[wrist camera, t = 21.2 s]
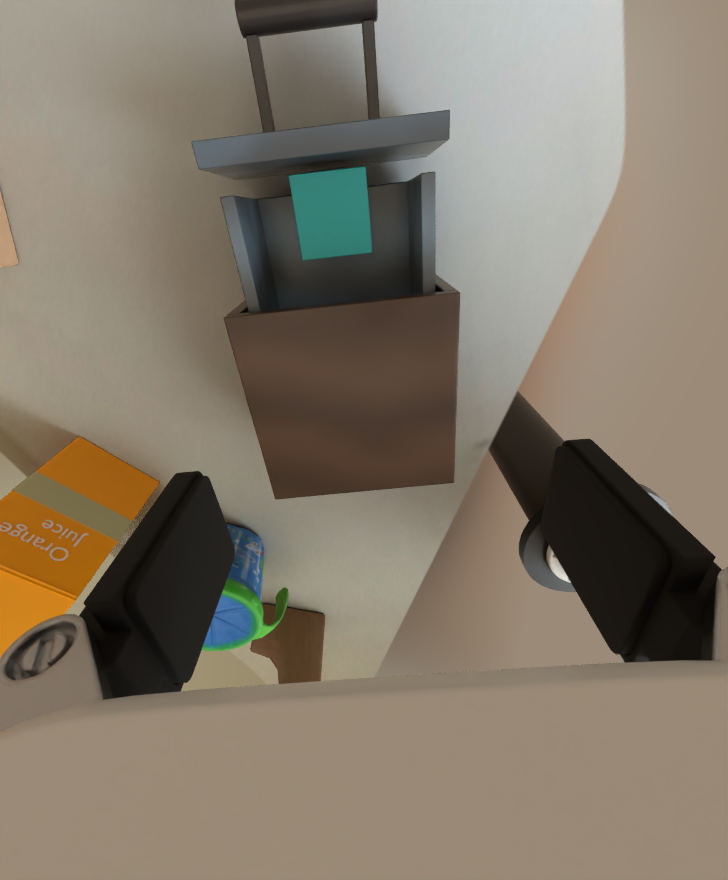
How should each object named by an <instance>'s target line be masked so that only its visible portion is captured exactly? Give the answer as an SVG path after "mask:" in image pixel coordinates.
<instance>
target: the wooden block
mask: <svg viewBox="0 0 728 880" xmlns="http://www.w3.org/2000/svg"><path fill="white" fill-rule="evenodd" d="M262 606H263V622H264V623H265V624H266V625H270V624H271V623H272V622H273V621H274V620H275V614H276V605H270V604H263V605H262ZM324 626H325V615H324V614H320V613H314V612H309V611H303V610H298V609H292V608H287V607H286V610H285V613H284V615H283V617H282V619H281V620H280V622H279V623H278V625H277V626H276V627H275V628H274V629H273V630H272V631H270V632H269V633H268V634H266V635H265V636H263V637H262V638H258V639H254V640H252V644H251V648H250V649H251V651H252V652H254V653H257V654H259V655H262V656H265V657H268V658H270V659H271V661H272V662H273V664H274V665H275V667H276V668H277V669H278V680H279V684H287V683H301V682H315V681H321V670H322V655H323V640H324Z"/></svg>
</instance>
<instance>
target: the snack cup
mask: <svg viewBox="0 0 728 880" xmlns="http://www.w3.org/2000/svg"><path fill="white" fill-rule="evenodd" d="M227 528H228V530H229V533H230V536H231V538H232V541H233V544H234V547H235V558H234V561H233V564H232V567H231V569H230V572H229V575H228V578H227V581H226V583H225V586H224V589H223V592H222V594H221V597H220V600H219V603H218V605H217V608H216V611H215V614H214V617H213V619H212V622H211V625H210V628H209V630H208V633H207V636H206V639H205V641H204V644H203V647H202V650H206V651H223V650H230V649H234V648H238V647H241V646H243V645H245V644H247V643H249V642H250V641H252V640H254V639H258V638H262V637H263V636H265V635H266V634H268V633H269V632H270V631H272V630H273V629H274V628H275V627H276V626H277V625H278V623H279V622H280V620H281V619H282V617H283V615H284V613H285V610H286V607H287V602H288V589H287V588H285V587H284V588H283V589H281V590H280V591H279V593H278V594H277V596H276V614H275V620H274V621H273V622H272V623H271V624H270V625H266V624H265V623H264V622H263V606H262V602H261V596H262V588H263V570H264V548H263V545H262V543H261V539H260V538H259V536H258V535H255V534H254V533H252V532H251V531H249V530H246V529H244V528H240V527H236V526H234V525H230V524H228V525H227Z"/></svg>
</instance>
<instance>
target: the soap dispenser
mask: <svg viewBox="0 0 728 880" xmlns="http://www.w3.org/2000/svg"><path fill="white" fill-rule="evenodd" d="M17 264H19V262H18V258H17V254H16V250H15V246H14V242H13V238H12V235H11V231H10V227H9V223H8V219H7V215H6V211H5V207H4V203H3V199H2V195H1V191H0V267H6V266H12V265H17Z"/></svg>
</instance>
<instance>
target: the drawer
mask: <svg viewBox="0 0 728 880" xmlns="http://www.w3.org/2000/svg"><path fill="white" fill-rule="evenodd" d="M235 10H236V15H237V20H238V24H239V27H240V31H241V33H242V36H243V38H246V40H247V45H248V51H249V56H250V62H251V67H252V72H253V78H254V83H255V89H256V94H257V99H258V105H259V110H260V116H261V121H262V126H263V132H264V133H256V134H247V135H239V136H231V137H223V138H215V139H207V140H198V141H192V146H193V150H194V154H195V158H196V162H197V165H198V169H200V170H203V171H207V172H210V173H214V174H217V175H221V176H224V177H228V178H231V179H235V180H238V179H246V178H255V177H263V176H272V175H280V174H288V173H297V172H305V171H314V170H322V169H330V168H339V167H347V166H356V165H364V164H372V163H381V162H389V161H398V160H406V159H415V158H423V157H427V156H428V155H429V154H430V153H432V152H433V151H434V150H436V149H437V148H438V147H440V146H441V145H442V144H443V143H445V142H446V141H447V140H449V128H450V110H444V111H435V112H427V113H419V114H411V115H403V116H395V117H386V118H380V116H379V99H378V82H377V65H376V49H375V32H374V22H376V21H377V14H378V9H377V0H235ZM361 23H362V34H363V48H364V62H365V76H366V90H367V104H368V118H369V120H362V121H354V122H346V123H337V124H329V125H321V126H313V127H305V128H296V129H288V130H280V131H275V127H274V121H273V115H272V109H271V103H270V98H269V92H268V86H267V80H266V74H265V69H264V63H263V57H262V51H261V45H260V40H259V37H261V36H268V35H276V34H284V33H291V32H299V31H307V30H315V29H322V28H330V27H338V26H345V25H353V24H361ZM367 189H368V202H369V215H370V228H371V241H372V253H365V254H356V255H347V256H339V257H330V258H321V259H312V260H302V255H301V249H300V243H299V237H298V231H297V225H296V219H295V213H294V207H293V201H292V195H287V196H278V197H270V198H261V199H253V198H246V197H239V196H224V197H220V199H221V203H222V207H223V211H224V215H225V219H226V223H227V227H228V231H229V235H230V239H231V243H232V247H233V251H234V255H235V259H236V263H237V267H238V271H239V275H240V279H241V283H242V287H243V291H244V296H245V300H246V304H247V308H248V312H259V311H268V310H277V309H286V308H295V307H305V306H314V305H323V304H332V303H342V302H351V301H360V300H369V299H378V298H388V297H397V296H406V295H415V294H425V293H434V292H435V172H428V173H421V174H420V175H418V176H416V177H414V178H413V179H411V180H409V181H406V182H398V183H389V184H381V185H372V186H367Z"/></svg>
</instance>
